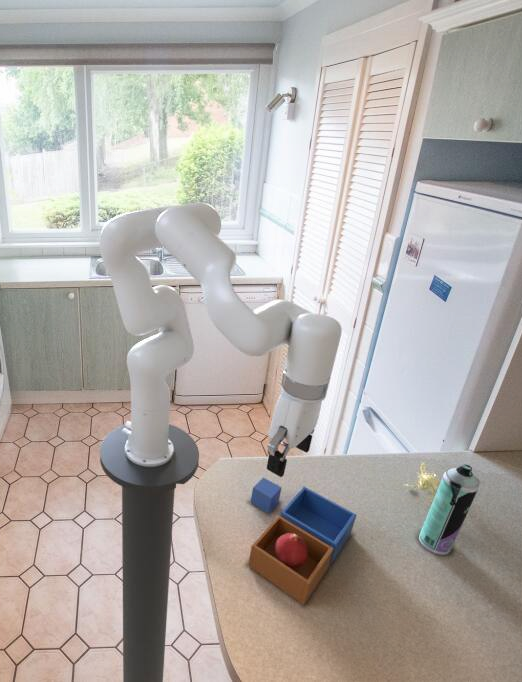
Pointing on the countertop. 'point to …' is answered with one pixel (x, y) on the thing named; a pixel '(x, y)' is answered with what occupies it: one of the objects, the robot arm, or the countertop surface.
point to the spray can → (449, 509)
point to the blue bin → (320, 518)
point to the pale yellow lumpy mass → (427, 481)
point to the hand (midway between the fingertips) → (288, 460)
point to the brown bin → (287, 578)
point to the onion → (291, 550)
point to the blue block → (265, 495)
